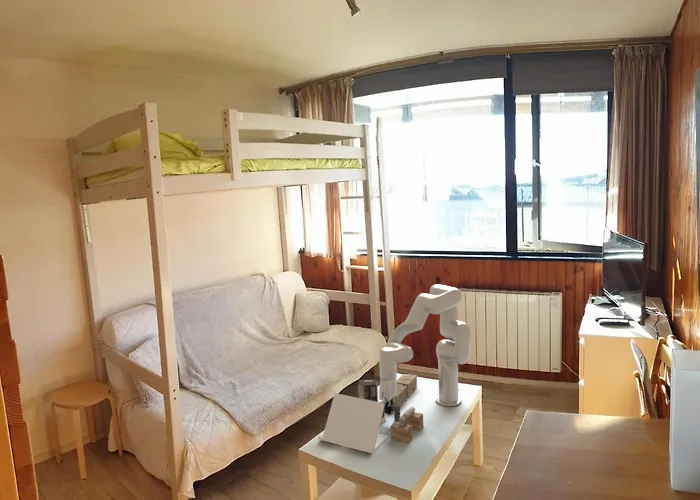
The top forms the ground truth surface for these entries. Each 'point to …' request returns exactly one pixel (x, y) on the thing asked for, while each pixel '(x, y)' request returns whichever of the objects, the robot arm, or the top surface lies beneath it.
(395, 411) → the grey c-shaped block
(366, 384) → the coffee box
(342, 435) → the tablet stand
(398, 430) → the wooden handle frame
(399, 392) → the block tower
